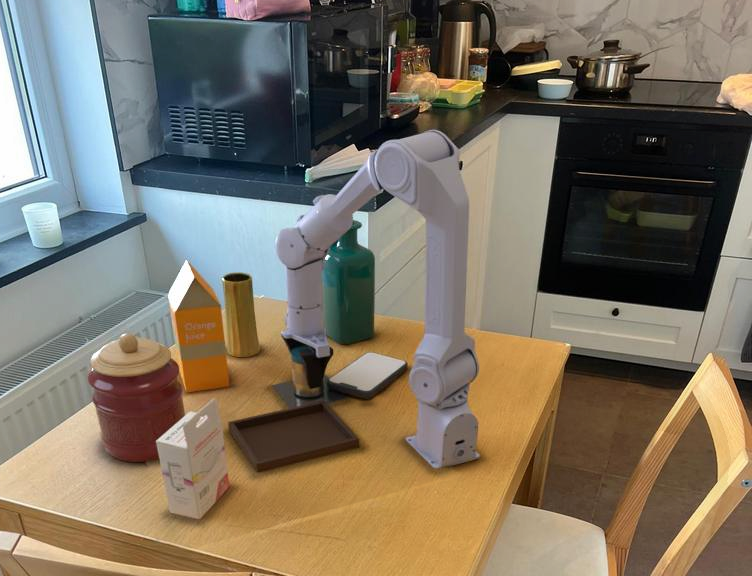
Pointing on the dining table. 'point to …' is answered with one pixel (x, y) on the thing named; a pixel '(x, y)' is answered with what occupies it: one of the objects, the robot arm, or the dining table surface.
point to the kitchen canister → (135, 396)
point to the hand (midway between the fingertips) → (308, 379)
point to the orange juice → (198, 332)
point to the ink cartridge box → (194, 462)
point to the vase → (240, 315)
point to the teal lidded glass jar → (302, 376)
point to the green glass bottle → (349, 289)
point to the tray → (292, 435)
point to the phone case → (367, 375)
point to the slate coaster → (295, 400)
